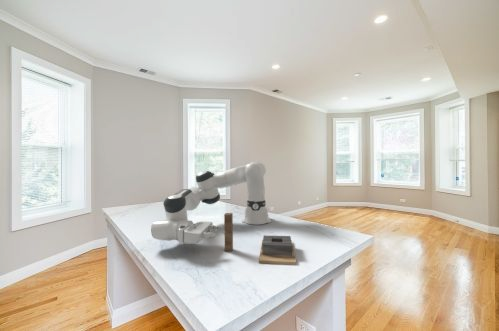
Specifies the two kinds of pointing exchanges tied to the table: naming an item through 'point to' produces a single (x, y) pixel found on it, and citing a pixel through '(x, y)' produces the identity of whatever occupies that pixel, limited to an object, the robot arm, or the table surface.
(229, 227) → the walnut slat
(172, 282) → the table surface
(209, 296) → the table surface
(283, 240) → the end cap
